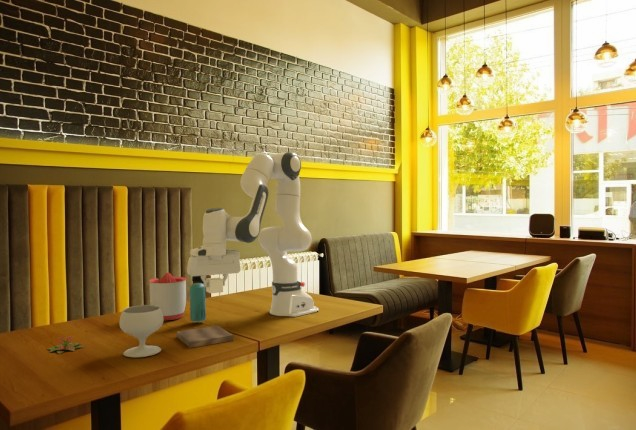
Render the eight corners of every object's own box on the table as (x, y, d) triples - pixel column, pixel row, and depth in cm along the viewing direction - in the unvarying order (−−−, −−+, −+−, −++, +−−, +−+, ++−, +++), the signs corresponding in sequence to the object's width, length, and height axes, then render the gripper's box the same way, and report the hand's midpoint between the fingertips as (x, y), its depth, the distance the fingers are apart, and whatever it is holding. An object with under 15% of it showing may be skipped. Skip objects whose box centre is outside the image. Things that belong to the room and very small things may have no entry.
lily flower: (74, 342, 177) (73, 330, 177) (91, 348, 170) (90, 335, 170) (39, 351, 168) (39, 338, 167) (56, 357, 160) (55, 344, 160)
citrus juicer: (179, 311, 223) (178, 268, 222) (192, 319, 209) (191, 273, 208) (144, 316, 214) (143, 271, 214) (155, 324, 200) (154, 276, 199)
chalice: (158, 343, 173) (157, 302, 173) (169, 354, 161) (168, 310, 161) (116, 350, 166) (115, 307, 165) (124, 362, 154) (123, 315, 153)
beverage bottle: (202, 325, 197) (201, 277, 197) (187, 324, 199) (186, 276, 198) (209, 321, 204) (208, 274, 203) (194, 320, 205) (193, 274, 204)
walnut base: (217, 330, 190) (217, 325, 190) (233, 340, 177) (232, 335, 176) (177, 336, 182) (176, 331, 182) (189, 348, 168) (189, 342, 168)
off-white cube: (218, 290, 189) (218, 277, 189) (223, 292, 184) (223, 279, 184) (206, 291, 186) (206, 278, 186) (210, 293, 182) (210, 280, 182)
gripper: (236, 248, 193) (236, 283, 193) (186, 250, 182) (185, 287, 183) (243, 249, 188) (242, 285, 188) (190, 252, 177) (190, 289, 177)
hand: (214, 286), depth 185 cm, fingers closed on off-white cube, 5 cm apart
